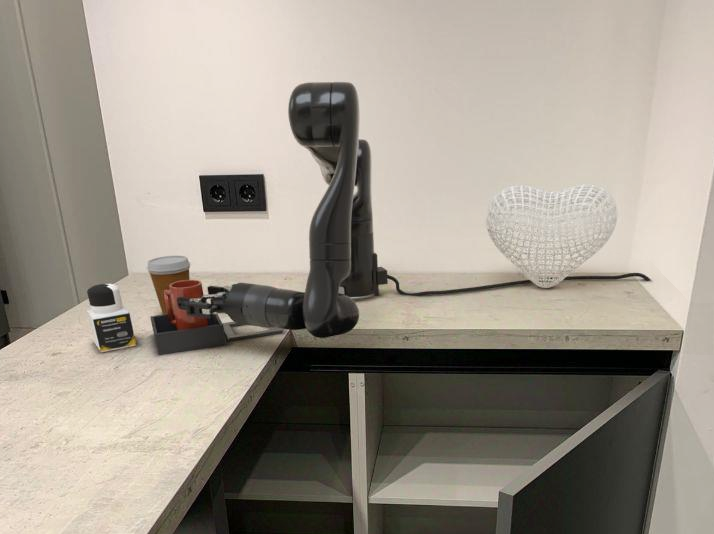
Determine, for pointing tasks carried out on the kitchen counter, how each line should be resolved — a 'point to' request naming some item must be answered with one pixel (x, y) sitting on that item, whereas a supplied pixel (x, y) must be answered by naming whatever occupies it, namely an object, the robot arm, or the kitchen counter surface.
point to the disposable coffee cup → (167, 275)
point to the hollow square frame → (232, 336)
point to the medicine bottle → (109, 318)
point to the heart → (551, 196)
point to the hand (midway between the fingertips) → (194, 296)
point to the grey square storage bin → (186, 335)
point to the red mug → (181, 319)
